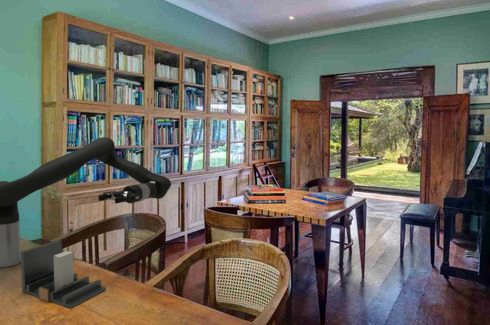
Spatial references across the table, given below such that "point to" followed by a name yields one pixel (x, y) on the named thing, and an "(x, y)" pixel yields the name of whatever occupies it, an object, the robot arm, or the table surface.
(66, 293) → the rack
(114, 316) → the table surface
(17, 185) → the robot arm
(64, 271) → the light grey block
